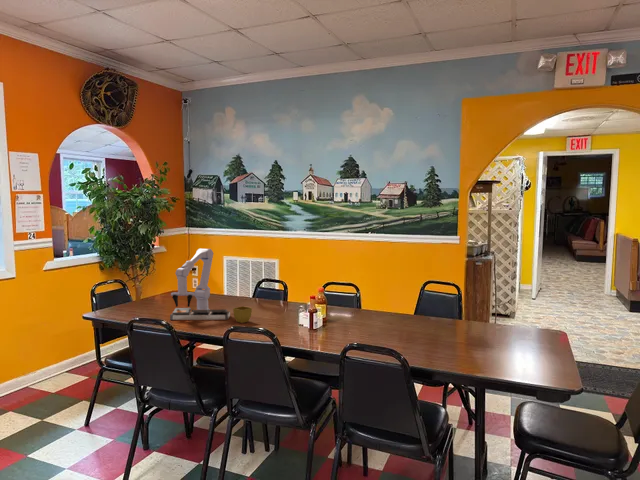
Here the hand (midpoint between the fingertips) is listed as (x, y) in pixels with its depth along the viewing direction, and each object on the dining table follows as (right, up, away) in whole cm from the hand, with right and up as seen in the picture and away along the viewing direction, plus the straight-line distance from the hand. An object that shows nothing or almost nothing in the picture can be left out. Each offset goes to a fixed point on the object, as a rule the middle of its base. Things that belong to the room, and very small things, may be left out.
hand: (182, 306), depth 296 cm
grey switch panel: (+12, -8, -1) cm, 14 cm away
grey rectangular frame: (0, -3, -2) cm, 4 cm away
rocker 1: (+12, -3, -1) cm, 13 cm away
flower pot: (+42, -8, -11) cm, 44 cm away
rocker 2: (+24, -3, -1) cm, 24 cm away
